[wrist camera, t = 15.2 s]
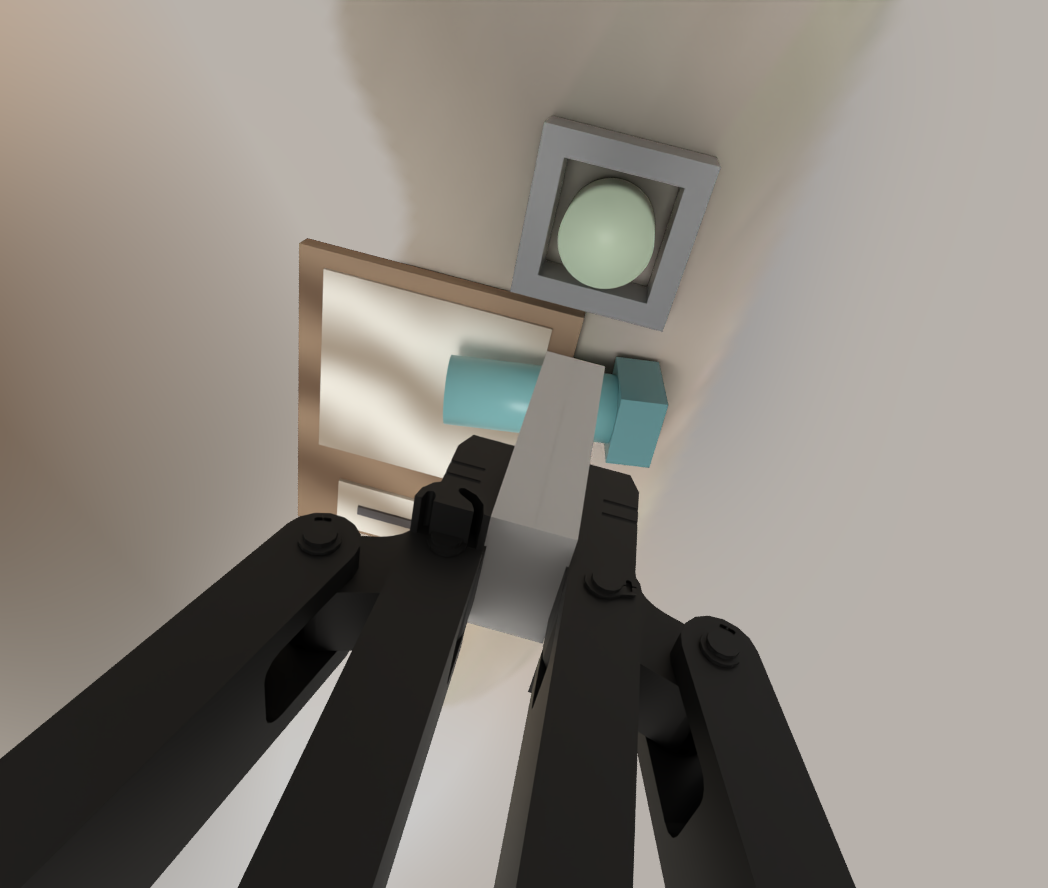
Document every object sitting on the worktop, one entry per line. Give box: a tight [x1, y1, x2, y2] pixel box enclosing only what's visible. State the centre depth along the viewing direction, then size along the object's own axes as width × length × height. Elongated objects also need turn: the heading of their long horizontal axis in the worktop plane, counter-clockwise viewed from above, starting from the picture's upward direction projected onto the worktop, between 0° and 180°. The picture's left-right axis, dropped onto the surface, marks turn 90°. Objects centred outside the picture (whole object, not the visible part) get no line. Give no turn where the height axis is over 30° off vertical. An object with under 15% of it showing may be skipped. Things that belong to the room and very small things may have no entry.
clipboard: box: [298, 238, 585, 537], centre depth 41 cm, size 20×16×2 cm
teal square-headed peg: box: [443, 355, 668, 468], centre depth 36 cm, size 4×4×11 cm
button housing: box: [510, 116, 721, 332], centre depth 32 cm, size 8×8×2 cm
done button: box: [558, 178, 655, 289], centre depth 31 cm, size 4×4×3 cm
